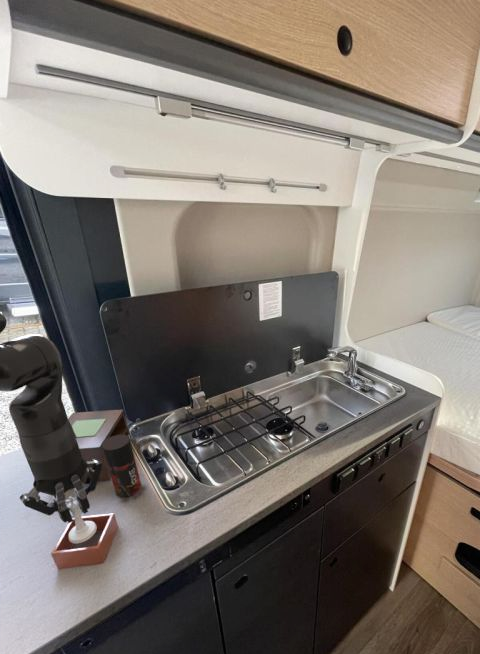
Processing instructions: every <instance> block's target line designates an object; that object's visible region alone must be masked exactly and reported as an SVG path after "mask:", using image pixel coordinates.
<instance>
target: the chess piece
mask: <svg viewBox="0 0 480 654" xmlns="http://www.w3.org/2000/svg"><path fill="white" fill-rule="evenodd" d="M65 503H66V506H67V507H68V508H69V511H70V514H71V516H72V518H74V519H75V525H76V526H74V527H73V528H72V529H71V531H70V532H69V541H70V542H72V543H74V544H81V543H84V542H86V541H88V540H90V539H91V538H92V537H93V536H94V535H95V533H97V532H96V530H97V526H96V524H95V523H94V522H93V521H83V519H82V518H81V515H82V514H83V512H82V510H81V509H80V508H79V502H78V501H77V498H76V497H73V496H72V495H70V496H68V499H66V500H65Z"/></svg>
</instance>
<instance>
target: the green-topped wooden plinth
mask: <svg viewBox="0 0 480 654" xmlns="http://www.w3.org/2000/svg"><path fill="white" fill-rule="evenodd" d="M68 420H69V422H70V424H71V426H72V428H73V430H74V433H75V434H76V440H77V443H78V446H79V449H80V452H81V455H82V459H84V460H85V461H86V462H89V461H91V460H92V459H97V460H98V461H99V462H100V463H102V465H103V466H102V469H101V473H100V476H99V479H98V482H105V481H110V480H112V478H111V475H110V472H109V468H108V465H107V462H106V458H105V455H104V452H103V448H102V443H103V442H104V441H105V440H106V439H108V438H110V437H112V436H115V435H127V436H128V435H129V434H130V431H129V427H128V422H127V418H126V414H125V409H113V410H112V409H109V410H94V411H80V412H72V413H71V415H69V417H68ZM87 472H88V471H87V469H86V471H85V473H84V476H83V478H82V480H81V483H82V484H84V482H85V479H86V475H87Z"/></svg>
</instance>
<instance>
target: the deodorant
mask: <svg viewBox="0 0 480 654" xmlns="http://www.w3.org/2000/svg"><path fill="white" fill-rule="evenodd" d="M130 438H131V437H130ZM130 438H129V436H127V435H115V436H112V437H110V438H108V439H106V440H105V441H104V442H103V443H102V448H103V452H104V455H105V458H106V462H107V465H108V468H109V472H110V475H111V481H112V485H113V488H114V491H115V495H116V496H117V497H118V498H121V499H128V498H131V497H133V496H135V495H136V494H137V493H139V492H140V491H141V490H142V482H141V477H140V474H139V470H138V466H137V463H136V458H135V454H134V450H133V446H132V442H131V439H130Z"/></svg>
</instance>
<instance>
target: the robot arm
mask: <svg viewBox="0 0 480 654" xmlns="http://www.w3.org/2000/svg"><path fill="white" fill-rule="evenodd" d="M7 321H8V320H7V318H6V317H5V315H4V314H3V313H2V311H0V334H2V333H3V332H4V331H5V329H6V327H7ZM63 367H64V366H63V359H62V356H61V352H60V351H59V349H58V347H57V346H56V345H55V343H54V342H53V341H52V340H50V339H49V338H48V337H46V336H44V335H41V334H36V333H33V334H27V335H23V336H20V337H17V338H14V339H11V340H8V341H5V342H2V343H0V392H4V393H5V392H7V393H8V392H13V391H17V390H19V389H21V388H23V387H24V389H23V390H22V391H21V392H20V393H19V394H18V395H16V396H15V397H14V398H13V399H12V400H11V401H10V403H9V406H8V411H9V414H10V417H11V419H12V421H13V424H14V427H15V429H16V431H17V434H18V439H19V443H20V444H19V445H20V447H21V449H22V452H23V454H24V457H25V459H26V462H27V463H28V466H29V469H30V471H31V474H32V476H33V485H32V486H33V488H31V490H29V492H26V493H22V494H21V495H20V496H19V499H20V501H21V503H22V504H23V505H24V506H25V507H26V508H29V509H31V510H33V511H36V512H39V513H41V514H44V515H46V516H52V515H53V514H55V513H57V514H58V516H59V518H60V520H61V521H62V522H63V523H70V522H72V521H73V519H72V516H71V514H70V513H71V511H70V510H69V508H68V507H67V504H66V500H67V499H66V493H67V492H69V491H70V490H71V491H72V490H73V491H74V493H75V494H76V495H75V497H76V498H77V500H76V501H78V502H79V508H78V509H81V510H82V514H84V515H85V514H87V513H88V512H89V509H90V508H91V504H90V501H89V499H88V495H89V493H91V492H93V491H95V490H96V489H97V485H98V482H99V481H98V479H99V476H100V473H101V469H102V466H103V465H102V463H100V462H99V461H98V460H97V459H92V460H91V461H89V462H86V461H85V460H84V459H82V455H81V452H80V449H79V446H78V443H77V440H76V434H75V433H74V430H73V428H72V426H71V424H70V422H69V420H68V418H69V417H68V415H67V412H66V408H65V405H64V403H63V398H62V395H63V371H64V370H63V369H64V368H63ZM86 469H87V471H88V472H87V475H86V479H85V482H84V483H81V480H82V478H83V476H84V473H85V471H86ZM39 493H41V494H44V495H49V496H51V497H52V502H47V501H45V500H43V499H41V496H40V495H39Z"/></svg>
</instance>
